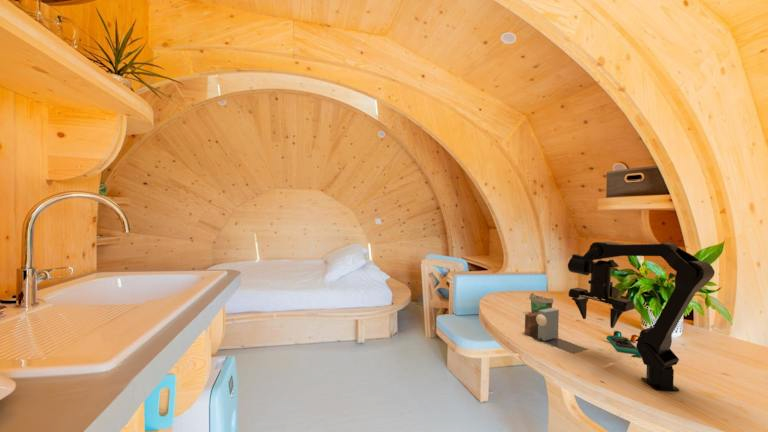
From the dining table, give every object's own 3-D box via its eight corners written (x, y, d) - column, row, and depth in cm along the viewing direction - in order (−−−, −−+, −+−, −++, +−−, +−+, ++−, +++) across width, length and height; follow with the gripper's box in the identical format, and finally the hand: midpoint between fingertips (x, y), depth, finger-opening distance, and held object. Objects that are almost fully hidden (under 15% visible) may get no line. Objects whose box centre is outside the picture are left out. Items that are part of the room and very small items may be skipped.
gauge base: (588, 352, 124) (588, 349, 124) (570, 357, 120) (571, 354, 119) (536, 332, 144) (536, 329, 144) (519, 336, 139) (520, 333, 139)
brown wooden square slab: (543, 332, 140) (543, 313, 140) (529, 336, 137) (530, 316, 137) (538, 330, 143) (538, 312, 142) (524, 333, 139) (525, 314, 139)
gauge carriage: (559, 338, 134) (560, 310, 134) (542, 342, 129) (543, 313, 129) (546, 333, 139) (547, 306, 139) (530, 337, 134) (531, 309, 134)
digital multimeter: (627, 343, 134) (627, 336, 134) (641, 359, 120) (641, 350, 120) (605, 341, 136) (605, 334, 136) (617, 356, 122) (617, 348, 122)
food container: (523, 313, 170) (523, 293, 170) (532, 312, 172) (532, 292, 172) (544, 321, 159) (544, 299, 158) (553, 319, 161) (553, 298, 161)
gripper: (643, 282, 112) (640, 328, 113) (586, 271, 128) (584, 311, 129) (626, 285, 106) (623, 334, 107) (568, 273, 123) (566, 316, 123)
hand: (597, 323), depth 117 cm, fingers open, 9 cm apart
